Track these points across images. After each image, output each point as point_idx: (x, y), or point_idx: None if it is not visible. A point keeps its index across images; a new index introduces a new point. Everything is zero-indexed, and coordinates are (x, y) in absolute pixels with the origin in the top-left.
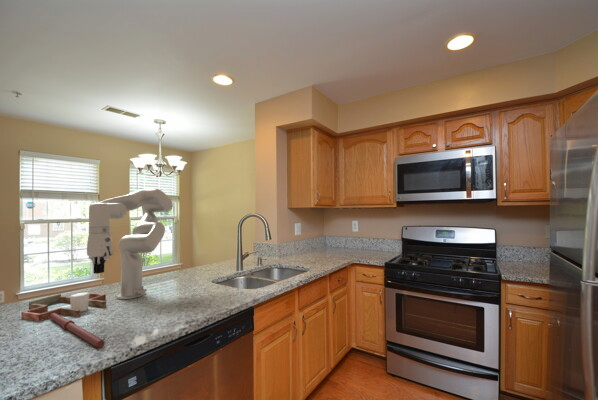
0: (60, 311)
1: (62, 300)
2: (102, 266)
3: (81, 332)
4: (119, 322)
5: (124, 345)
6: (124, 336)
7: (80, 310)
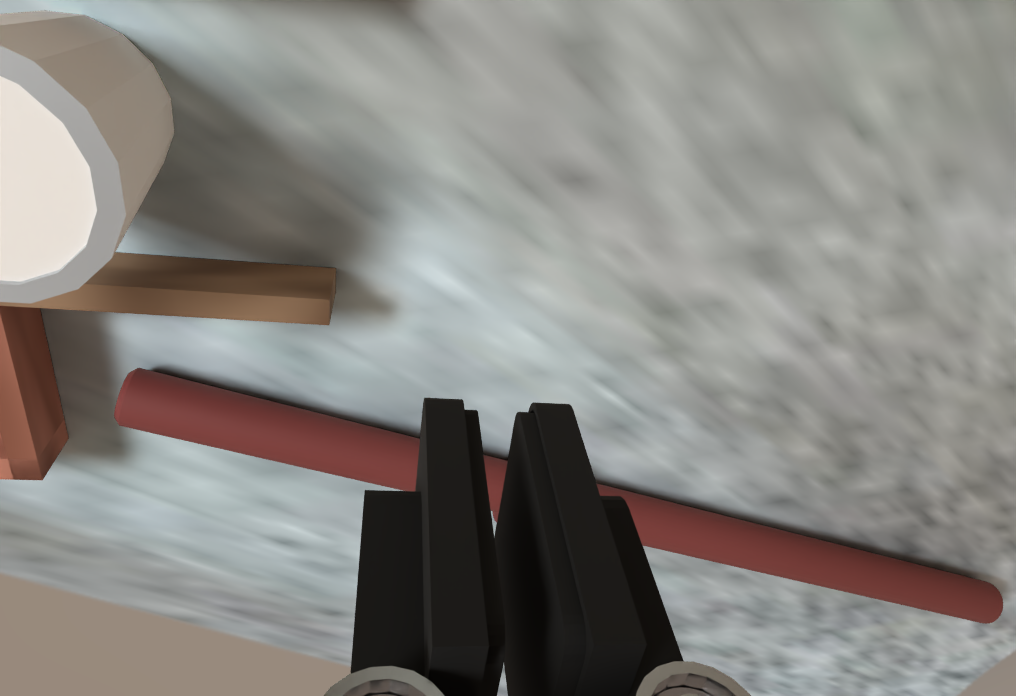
0: None
1: None
2: (646, 623)
3: (794, 579)
4: (883, 319)
5: None
6: None
7: (164, 159)
